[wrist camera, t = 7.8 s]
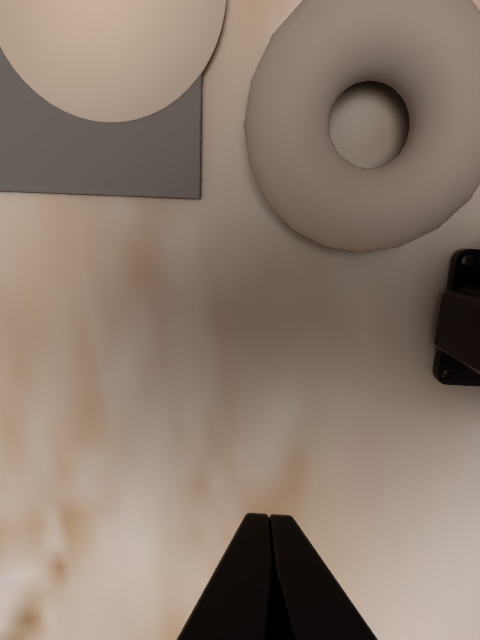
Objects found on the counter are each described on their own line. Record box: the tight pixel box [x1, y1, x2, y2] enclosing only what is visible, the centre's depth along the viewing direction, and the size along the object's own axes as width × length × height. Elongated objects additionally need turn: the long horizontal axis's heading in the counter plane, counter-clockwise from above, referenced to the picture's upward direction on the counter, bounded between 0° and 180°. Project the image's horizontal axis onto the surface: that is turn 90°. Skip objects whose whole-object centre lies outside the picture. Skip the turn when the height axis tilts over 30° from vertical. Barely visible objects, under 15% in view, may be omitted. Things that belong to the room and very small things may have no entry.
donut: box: [244, 0, 480, 253], centre depth 15 cm, size 10×3×10 cm
